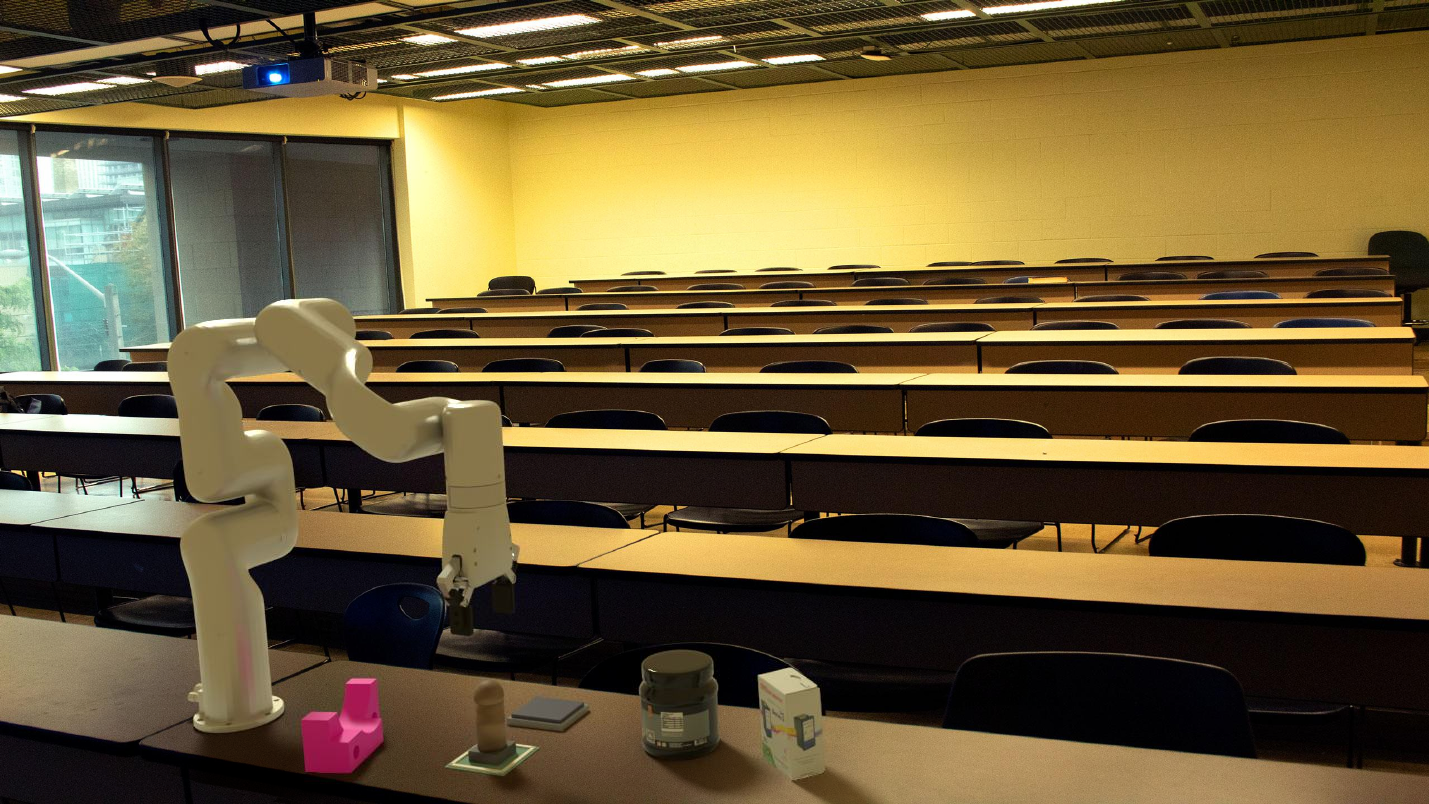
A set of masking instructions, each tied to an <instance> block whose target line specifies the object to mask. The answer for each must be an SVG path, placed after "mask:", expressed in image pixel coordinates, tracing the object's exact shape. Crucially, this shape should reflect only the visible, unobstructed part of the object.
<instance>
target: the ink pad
mask: <svg viewBox="0 0 1429 804" xmlns="http://www.w3.org/2000/svg"><path fill="white" fill-rule="evenodd" d="M589 711H590V705H589V704H587V703H585V702H584V701H578V700H570V699H563V698H554V697H544V696H537V695H536V696H535V697H534V698H532V699H530V701H528V702H527V703H525V704H523V705H521V707H519V708H518V709H515V710H514V711H513V712H512V713H511V714H510V715H509V716H508V717H506V725H507V726H515V727H522V728H531V729H539V730H547V731H555V732H563V731H565V730H566V729H567V728H568V727H570V726H571V725H572V724H573V723H574V724H575V722H576V721H578V720H579V719H580V718H581V717H583V716H584V715H585V714H586V713H588V712H589Z"/></svg>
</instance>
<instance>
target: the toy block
mask: <svg viewBox="0 0 1429 804" xmlns="http://www.w3.org/2000/svg"><path fill="white" fill-rule="evenodd" d="M300 721H301V722H300V723H301V724H300V725H301V731H302V732H301V733H302V734H301V735H302V747H303V755H304V758H303V759H304V766H305V767H304V769H305V773H306V772H316V773H317V772H318V773H319V774H324V773H325V774H351V773H352V772H353V771H354V770H355V769H357V768H358V767H359V766H360V764H362V763H363V762H364V761H365V759H367V758H368V757H369V756H371V754H372V753H373V752H374V751H375V750H376V749H377V748H378V747H379V746H380V745H381V744H382V743H384V730H383V718H382V717H380V706H379V693H378V680H377V678H350V679H349V680H348V681H347V682H346V683H345V693H344V700H343V705H342V709H341V712H340V715H339V712H337V711H326V712H325V711H310V712H309V713H308V714H306V715H305V716H304V717H303V718H301V719H300ZM318 773H317V774H318Z"/></svg>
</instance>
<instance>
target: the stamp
mask: <svg viewBox="0 0 1429 804" xmlns="http://www.w3.org/2000/svg"><path fill="white" fill-rule="evenodd" d="M472 695H473V696H472V697H473V701H474V702H473V703H474V714H475V715H474V716H475V729H476V732H475V733H476V744H477V745H476V744H475V745H476V746H475V745H473V746H474V747H473V746H472V747H473V748H472V747H471V748H469V749H470V750H469V749H468V750H469V751H468V750H467V751H468V756H469V762H474V763H481V764H488V765H494V766H499V765H500V764H501V763H503V762H504V761H505V760H507V759H508V758H509V757H510V756H512V755H513V754H514V753H516V744H517V741H516V740H509V739H507V731H506V715H505V701H504V699H505V691H504V688H503V686H502V685H501V684H500V683H499V682H498V681H496V680H492V679H486V680H482V681H481V682H480V683H478V684H477V685H476V686H475V688H474V691H473V694H472Z"/></svg>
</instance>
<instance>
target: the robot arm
mask: <svg viewBox="0 0 1429 804" xmlns="http://www.w3.org/2000/svg"><path fill="white" fill-rule="evenodd" d="M348 309H349V308H347V307H346V306H345V305H343V304H342V303H341V302H339V301H337V300H334V299H331V298H327V297H326V298H325V297H324V298H323V297H319V298H299V299H285V300H284V299H283V300H282V299H281V300H279V301H275V302H272V303H270V304H268V305H267V306H265V307H264V308H263V309H262V310H260V312H259V313H258V315H256V317H250V318H249V317H248V318H247V317H246V318H229V319H226V318H225V319H217V320H209V321H203V322H199V323H196V324H193V325H190V326H187V327H186V328H184V329H183V330H182V331H180V332H179V333H178V334H177V335H176V337H174V339H173V340H172V342H171V344H170V347H169V349H168V352H167V359H166V369H167V370H166V371H167V376H168V377H167V378H168V380H169V383H170V384H169V385H170V387H171V391H172V394H173V397H174V402H175V405H176V408H177V410H176V411H177V416H178V427H179V435H180V437H179V438H180V444H181V446H180V447H181V453H182V465H183V471H184V479H185V484H186V488H187V490H188V492H189V494H190V495H191V496H192V498H194V499H195V500H196V501H199V502H202V503H211V504H212V503H219V502H224V501H229V500H235V499H237V498H238V499H239V498H242V497H244V501H245V503H243V504H239V505H235V506H230V507H226V508H221V509H218V510H214V511H211V512H208V513H205V514H202V515H201V516H199V517H197V518H195V519H194V520H192V521H191V522H190V523H189V524H188V525H187V526H186V527H185V529H184V530H183V532H182V534H181V538H180V543H179V547H180V554H181V558H182V561H183V564H184V567H185V571H186V574H187V577H188V580H189V584H190V589H191V596H192V604H193V611H194V620H195V629H196V639H197V641H196V642H197V649H198V660H199V661H198V662H199V671H200V673H199V674H200V681H201V683H200V682H199V683H197V684H196V685H194V687H193V691H191V692H189V693H188V695H187V700H188V701H189V702H193V703H198V708H199V710H198V711H197V712H196V713H195V714H194V716H193V717H192V718H193V719H192V721H193V726H194V727H195V729H197V730H198V731H201V732H203V733H209V734H227V733H229V734H230V733H236V732H241V731H247V730H251V729H253V728H257V727H261V726H263V725H266V724H268V723H271V722H273V721H274V720H276V719H278V718H279V717H280V716H281V715H283V713H284V712H285V702H284V700H283V699H282V698H280V697H278V696H275V695H273V692H272V691H273V690H272V679H271V670H270V658H269V657H270V656H269V648H268V636H267V635H268V633H267V623H266V613H265V603H264V596H263V594H262V591H261V589H260V588H259V586H258V584H257V583H256V582H255V580H254V579H253V577H252V576H251V575H250V572H249V569H252V568H254V567H258V566H260V565H264V564H267V563H269V562H272V561H274V560H277V559H280V558H283V557H285V556H286V555H287V554H288V553H290V552H291V551H292V550H293V548H294V546H295V545H296V543H297V540H298V537H299V536H298V535H299V518H298V517H299V516H298V505H297V494H296V484H295V475H294V474H295V473H294V466H293V460H292V457H291V454H290V451H289V449H288V447H287V445H286V443H285V442H284V441H283V439H282V438H281V437H280V436H278V435H277V434H275V433H274V432H272V431H269V430H267V429H265V430H264V429H252V430H246V431H245V429H244V422H243V412H242V411H243V410H242V407H241V404H240V401H239V399H238V397H237V395H236V393H234V391H233V389H232V388H231V386H230V385H228V383H226V381H228V380H231V379H239V378H246V377H247V378H249V377H258V376H264V375H272V374H279V373H283V372H284V373H285V372H289V371H290V372H292V373H294V374H295V375H297V377H299V378H300V379H302V380H303V381H304V382H306V383H307V384H309V385H310V386H311V387H313V388H315V390H317V391H318V392H319V393H322V394H323V395H324V396H325V402H326V407H327V410H328V412H329V414H330V418H331V419H332V420H333V422H334V425H335V426H336V427H337V429H338V431H339V432H341V434H342V435H343V436H345V437H346V438H347V439H348V440H350V441H351V442H352V443H354V444H355V445H357V446H358V447H360V448H361V449H362V450H363V451H365V452H366V453H368V454H369V455H371V456H373V457H375V458H377V459H379V460H381V461H385V462H388V463H395V464H396V463H398V464H399V463H404V462H409V461H412V460H415V459H419V458H425V457H429V456H432V455H437V454H441V453H443V455H444V456H443V457H444V471H445V472H444V473H445V487H446V491H445V492H446V504H447V505H446V507H447V508H446V509H447V510H446V511H445V513H444V518H443V527H442V537H441V538H442V540H441V541H442V543H441V545H442V546H441V547H442V548H441V562H442V563H441V566H442V567H441V568H442V571H441V572H440V574H439V575H438V576H437V578H436V584H437V587H438V589H439V591H440V594H441V597H442V599H444V602H445V603H444V604H446V606H448V615H449V630H450V634H451V635H455V636H464V637H470V636H473V635H474V631H475V629H474V617H473V614H474V613H473V605H472V604H469V603H470V601H471V600H470V599H471V598H472V594H473V592H474V589H476V588H478V587H481V586H482V585H485V584H487V583H489V582H492V581H494V582H492V583H491V596H492V597H491V598H492V611H493V612H494V613H497V614H498V613H500V614H501V613H502V614H510V615H511V614H514V613H515V612H516V598H515V583H516V580H517V578H516V577H517V575H516V572H517V569H518V567H519V563H518V559H519V555H520V550H521V549H520V546H519V545H518V544H515V543H513V539H512V531H511V523H510V518H509V512H508V507H507V494H506V491H507V490H506V480H505V479H506V476H505V475H506V473H505V459H504V457H505V456H504V455H505V454H504V441H503V418H502V411H501V408H500V406H499V405H498V404H497V403H496V402H494V401H491V400H481V399H479V400H478V399H475V400H458V399H454V398H450V397H444V396H432V397H431V396H430V397H425V398H420V399H413V400H409V401H408V400H407V401H402V402H397V403H391V402H389V401H387V400H386V399H384V398H383V397H381V396H380V395H378V394H376V393H375V392H374V391H373V390H371V389H370V388H369V387H367V386H366V385H365V384H366V383H367V381H368V379H369V377H370V375H371V372H372V369H373V366H374V365H373V364H374V363H373V362H374V361H373V355H372V353H371V351H370V350H369V348H368V347H367V346H366V345H364V344H362V343H361V342H360V341H358V340H357V339H355V338H356V334H357V328H356V325H357V324H356V322H355V319H354V317H353V315H352V313H351V312H350V311H349V310H348ZM459 589H463V591H462V594H461V592H459Z"/></svg>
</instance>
